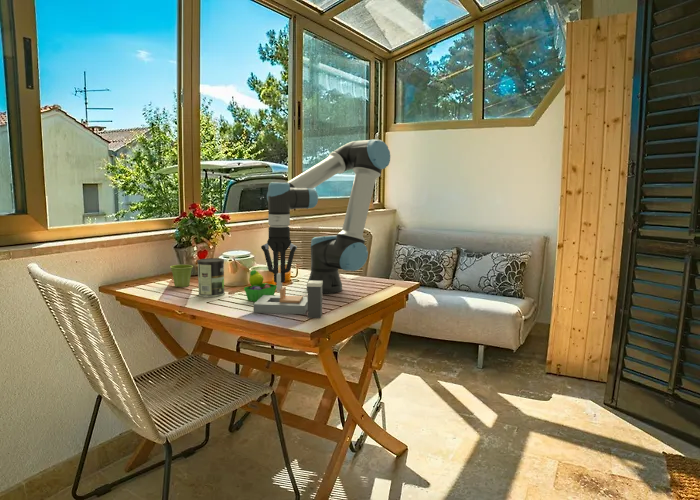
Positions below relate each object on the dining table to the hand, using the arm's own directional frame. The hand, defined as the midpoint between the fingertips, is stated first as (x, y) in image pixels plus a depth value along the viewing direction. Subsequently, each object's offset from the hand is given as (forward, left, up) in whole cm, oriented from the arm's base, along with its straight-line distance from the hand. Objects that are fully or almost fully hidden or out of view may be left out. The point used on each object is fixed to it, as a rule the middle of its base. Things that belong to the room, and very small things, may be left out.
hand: (279, 291), depth 180 cm
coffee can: (-18, -32, -7) cm, 37 cm away
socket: (0, +1, -6) cm, 6 cm away
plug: (+9, +14, -6) cm, 18 cm away
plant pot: (-32, -50, -7) cm, 59 cm away
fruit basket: (-13, -11, -7) cm, 18 cm away
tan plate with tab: (0, +4, -3) cm, 5 cm away
